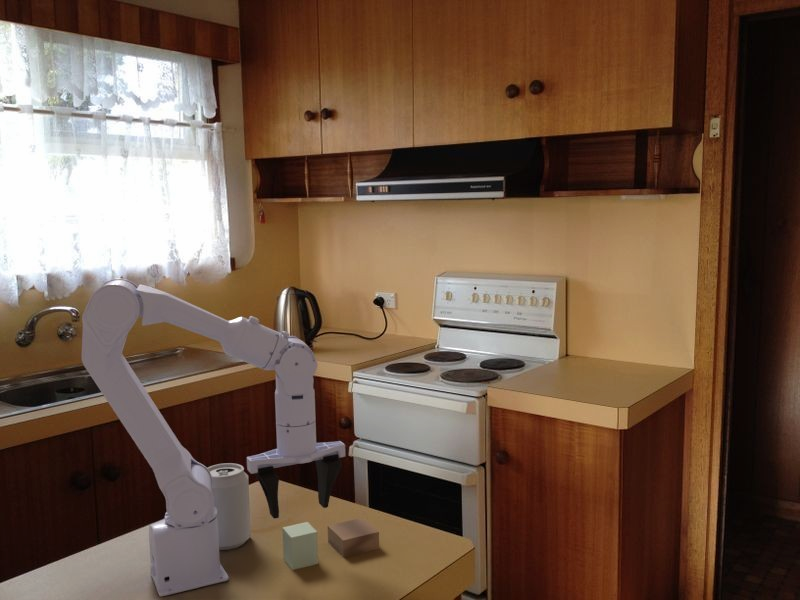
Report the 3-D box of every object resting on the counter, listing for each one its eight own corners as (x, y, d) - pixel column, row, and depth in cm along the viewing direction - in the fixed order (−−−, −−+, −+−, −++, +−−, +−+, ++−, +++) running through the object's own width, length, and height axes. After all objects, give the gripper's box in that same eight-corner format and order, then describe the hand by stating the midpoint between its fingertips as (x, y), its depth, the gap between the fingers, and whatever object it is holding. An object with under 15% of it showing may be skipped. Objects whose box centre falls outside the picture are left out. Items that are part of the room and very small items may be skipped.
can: (254, 530, 122) (251, 459, 121) (246, 551, 115) (243, 476, 114) (208, 532, 122) (205, 461, 121) (197, 553, 115) (193, 477, 113)
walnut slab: (343, 559, 113) (343, 540, 112) (328, 543, 118) (327, 525, 117) (379, 550, 115) (378, 531, 115) (362, 535, 121) (362, 517, 120)
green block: (292, 570, 109) (291, 537, 108) (283, 559, 112) (282, 527, 112) (318, 563, 111) (317, 531, 110) (308, 553, 114) (307, 521, 114)
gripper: (255, 436, 102) (259, 531, 104) (352, 420, 109) (355, 510, 110) (241, 423, 108) (245, 513, 110) (334, 409, 115) (336, 494, 117)
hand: (299, 510), depth 111 cm, fingers open, 7 cm apart
